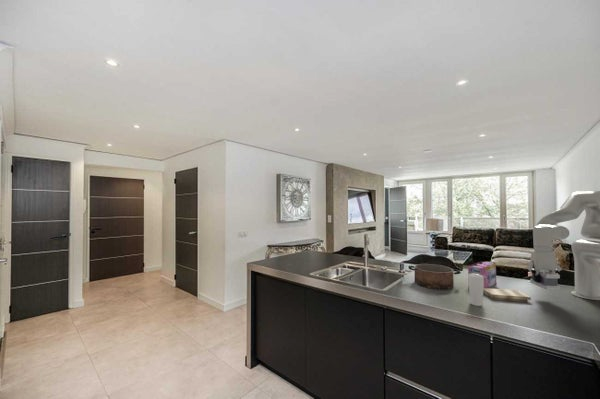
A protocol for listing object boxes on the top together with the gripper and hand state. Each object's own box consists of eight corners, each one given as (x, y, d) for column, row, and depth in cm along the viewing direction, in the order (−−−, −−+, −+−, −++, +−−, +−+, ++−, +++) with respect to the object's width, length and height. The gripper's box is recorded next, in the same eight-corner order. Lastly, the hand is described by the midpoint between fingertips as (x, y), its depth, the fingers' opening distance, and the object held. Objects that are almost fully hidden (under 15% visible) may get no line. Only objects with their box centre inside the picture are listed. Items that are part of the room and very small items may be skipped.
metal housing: (542, 282, 143) (542, 268, 143) (560, 290, 131) (559, 274, 131) (530, 282, 144) (529, 268, 144) (546, 289, 132) (546, 274, 132)
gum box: (483, 280, 173) (483, 260, 173) (497, 283, 167) (497, 262, 167) (467, 287, 160) (467, 265, 160) (482, 290, 153) (482, 268, 153)
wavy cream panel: (518, 295, 145) (517, 290, 145) (530, 302, 134) (530, 297, 134) (482, 293, 149) (482, 287, 149) (491, 300, 138) (491, 294, 138)
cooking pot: (456, 282, 170) (456, 266, 170) (464, 293, 149) (464, 274, 149) (408, 277, 181) (408, 262, 181) (408, 286, 161) (408, 269, 161)
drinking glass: (479, 308, 127) (479, 277, 128) (465, 303, 133) (465, 274, 134) (487, 305, 131) (486, 276, 131) (472, 301, 137) (472, 273, 137)
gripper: (556, 247, 140) (558, 280, 139) (520, 247, 143) (521, 279, 143) (567, 250, 132) (569, 285, 132) (528, 250, 136) (530, 283, 136)
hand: (544, 282), depth 138 cm, fingers closed on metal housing, 6 cm apart
